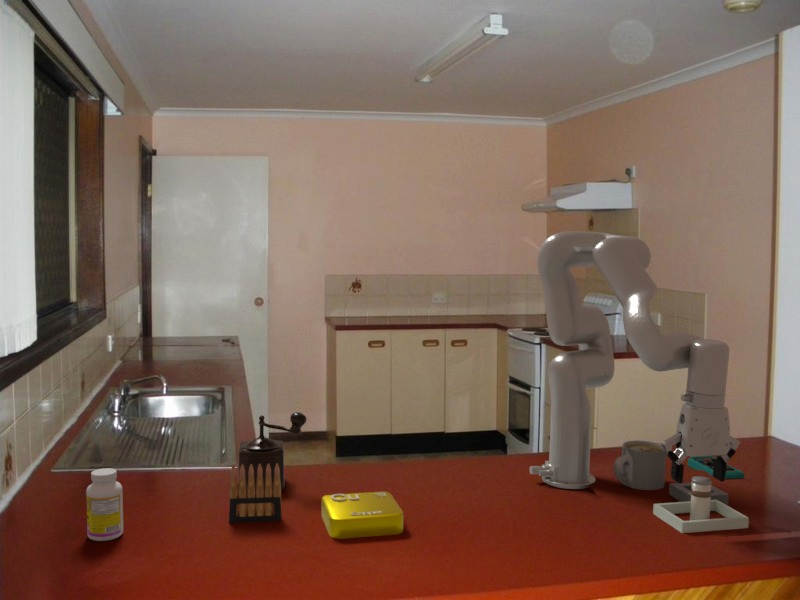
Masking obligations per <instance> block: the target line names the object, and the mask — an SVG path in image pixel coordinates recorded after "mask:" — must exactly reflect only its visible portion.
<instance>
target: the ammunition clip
mask: <svg viewBox="0 0 800 600" xmlns="http://www.w3.org/2000/svg"><path fill="white" fill-rule="evenodd" d="M237 477H238V478H237ZM229 480H230V481H229V482H230V483H229V513H228V523H229V524H236V523H238V524H239V523H263V522H264V523H265V522H266V523H268V522H282V520H283V519H282V490H281V481H280V469H279V465H278V463H276V466H275V470H274V482H273V490H272V477H271V468H270V465H269V463H268V464H267V467H266V477H265V485H264V482H263V471H262V466H261V464H259V466H258V470H257V482H256V492H255V480H254V469H253V465H252V464H251V465H250V467H249V473H248V484H247V486H246V478H245V468H244V465H243V464H242V465H241V468H240V476H239V475H238V476H237V469H236V466H235V464H232V466H231V469H230V479H229Z"/></svg>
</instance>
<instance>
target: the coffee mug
mask: <svg viewBox="0 0 800 600" xmlns="http://www.w3.org/2000/svg"><path fill="white" fill-rule="evenodd" d="M666 461H667V455H666V454H665V450H664V448H663V446H662V443H659V442H655V441H648V440H639V439H638V440H636V439H635V440H628V441H624V442H623V443H622V447H621V456H618V457H617V458H616V459H615V461H614V464H613V474H614V477H615V478H616V479H617V480H618V481H620V483H621V484H623V485H624V486H626V487H628V488H632V489H635V490H641V491H656V490H661V489H663V488H665V485H666V484H665V483H666V466H667V465H666V463H667V462H666Z"/></svg>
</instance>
